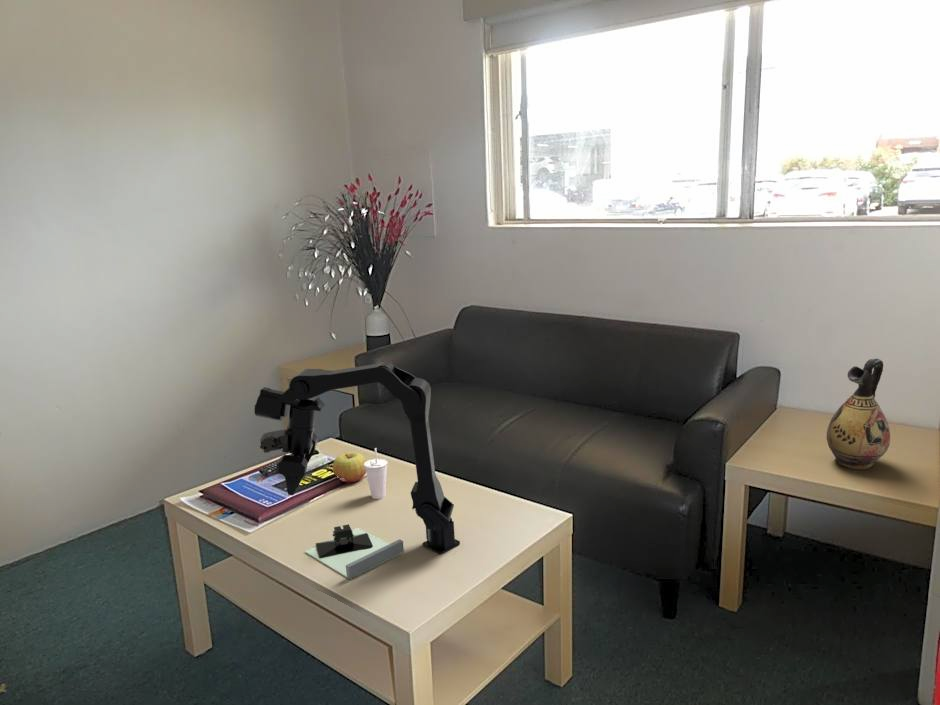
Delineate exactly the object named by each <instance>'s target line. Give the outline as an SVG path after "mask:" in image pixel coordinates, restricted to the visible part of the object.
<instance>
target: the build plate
mask: <svg viewBox="0 0 940 705" xmlns="http://www.w3.org/2000/svg"><path fill="white" fill-rule="evenodd" d="M352 530H353V529H352V527H351V526H350V524H349V523H348V524H344V525H342V527H341V525H339V526H334V527H333V531H332V537H333V538H334V540H331V539H329V540H330V541H329V540H327V541H320V542H316V543H315V546H316V547H317V551H318V555H319V558H324V557H329V556H334V555H338V554H343V553H348V552H353V551H358V550H365V549H370V548H372V547H373V545H372V543H371V540H370V538H369V536H368V534H367V533H368V532H367V533H364V534H359V535H355V536H354V534H353V533H352Z"/></svg>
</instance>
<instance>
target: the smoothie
mask: <svg viewBox="0 0 940 705" xmlns="http://www.w3.org/2000/svg"><path fill="white" fill-rule="evenodd" d="M377 449H378V448H377V447H375V448H374V458H373V459H369V460H366V462H365V463H364V469H365V470H366V472H365V475H366V478H367V483H368V486H369V490H370V496H371V499H374V500H380V499H384V498H385V497H386V492H387V491H386V488H387V487H386V486H387V469H388V468H387V467H388V461H387V459H384V458H378V452H377V451H378V450H377Z"/></svg>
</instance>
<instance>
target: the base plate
mask: <svg viewBox="0 0 940 705" xmlns="http://www.w3.org/2000/svg"><path fill="white" fill-rule="evenodd" d="M351 530H352V533H353V534H354V536H355V535H359V534H364V533H367V534H368V536H369V538H370V540H371V543H372V545H373V547H372V548H370V549H365V550H358V551H353V552H348V553H343V554H338V555H334V556H329V557H324V558H319V555H318V551H317V547H316V545H315V546H314V547H313V546H312V547H311V548H309V549H307V550H305V551H304V553H305V554H307V555H309V556H310V557H312V558H314V559H315V560H317V561H318V562H320V563H321V564H324V565H325V566H327V567H329V568H330V569H332V570H333V571H335V572H337V573H338V574H340V575H341V576H343V577H345V578H346V579H347V580H350V581H351V580H352V579H355V578H357V577H359V576H360V575H363V574H365V573H367V572H368V571H370V570H373V569H374V568H376V567H378V566H380V565H382V564H384V563H386V562H388V561H391V560H392V559H394V558H396V557H398V556H400V555H403V554H404V553H405V548H404V541H403V540H402V539H399V538H398V539H396V540H394V541H393V542H391V543H388V542H387V541H384V540H382V539H381V538H378V537H377V536H374V535H373V534H370V533H369V532H367V531H365V530H363V529H361V528H359V527H356V528H354V529H351ZM330 540H334V537H332V538H331V539H329V540H328V541H330Z"/></svg>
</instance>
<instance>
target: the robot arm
mask: <svg viewBox="0 0 940 705" xmlns="http://www.w3.org/2000/svg"><path fill="white" fill-rule="evenodd" d="M378 383H379V384H381V385H383V386H384V387H385V388H386V389H387V391H388V392H389V393H390V394H391V395H392V396H394V398H396V399H397V400H399V401H400V403H401V406H402V409H403V412H404V414H405V416H406V418H407V420H408V421H409V425H410V433H411V439H412V445H413V446H412V447H413V455H414V462H415V463H414V465H415V471H416V476H417V477H416V478H417V481H415V482H414V484H413V486H412V488H411V490H410V497H411V500H412V507H411V508H412V510H415V513H416V515H417V517H419V518H420V519H422V521H423V523H424V526H425V533H426V534H425V535H426V536H425V537H426V541H423V542H422V545H421V546H423V547H425V548H426V549H429V550H431V551H432V552H435V553H437V554H439V555H441V554H444V553H445V552H447V551H449V550H451V549H453V548H454V547H455V548H456V546H458V545H460V544H461V541H460V540H458V539H455V538H456V537H455V522H454V521H453V519H452V517H451V516H452V514H453V511H454V508H455V504H454V503H453V502H451V501H450V500H449V499H448V498H447V497H446V496H445V494H444V491H443V488H442V484H441V482H440V480H439V479H438V476H437V474H436V470H435V468H436V467H435V460H434V459H435V458H434V453H433V444H432V437H431V429H430V421H429V420H430V419H429V415H430V409H431V408H430V407H431V399H432V398H431V396H432V387H431V385H430V383H429V382H428V381H427V380H425V379H423V378H419V377H416V376H414V374H412V373H410V372H408V371H406V370H404V369H401V368H399V367H397V366H395V364H393V363H392V362H390V361H381V362H380V363H374V364H373V363H372V364H368V365H367V364H366V365H362V366H354V367H348V368H342V369H335V370H334V369H333V370H327V369H321V368H306V369H303V370H301V371H300V372H299V373H297V374H296V375H295V376H293V377H292V379H291V380H290V382H289V387H288V388H287V389H285V391H281V390H277V389H272V388H270V387H266V386H265V387H262V388H261V389H260V390H259V395H258V396H257V400H256V403H255V405H254V415H255V416H256V417H260V418H264V419H268V420H269V419H270V420H275V421H279V422H280V421H281V422H282V420H283V419H284V418H288V423H287V428H286V429H280V430H274V431H269V432H266V433H263V434H262V436H261V438H260V446H259V448H260V449H261V450H262V451H263V453H265V454H267V453H270V452H274V451H279V450H281V452H282V453H289V454H290V455H289V454H283V455H282V456H281V457H279V458H278V461H277V463H276V469H275V472H276V473H277V474H279V475H282V476H283V477H284V479H285V485H286V490H287V494H288V496H294V494H295V493H296V492H297V490H298V488H299V485H300V484H301V482H302V481H303V479H304V477H305V475H306V473H307V470H308V464H309V462H310V460H311V458H312V457H313V455H314V453H315V450H316V448H317V444H318V439H319V438H318V436H317V435H316V433H314V432H315V427H316V426H315V418H316V412H321V411H322V410H323V409H325V407H326V404H325V403H324V402H323V401H322V399H321V397H319V396H321V395H322V394H325V393H328V392H330V391H332V390H333V391H334V390H339V389H346V388H352V387H353V388H354V387H359V386H366V385H372V384H378ZM315 397H316V398H315ZM312 398H315V399H312Z"/></svg>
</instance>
